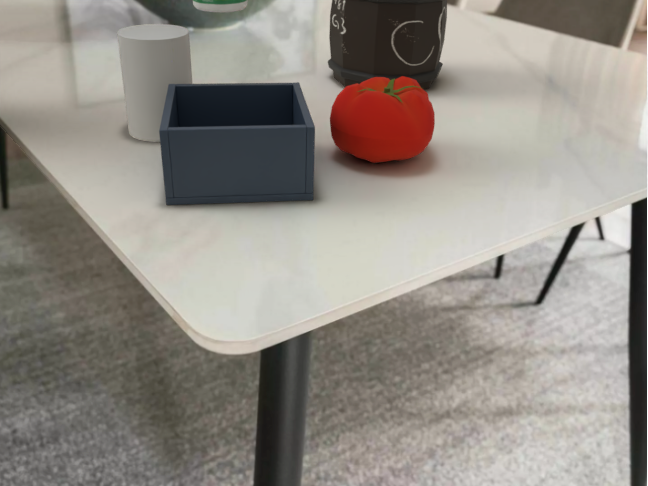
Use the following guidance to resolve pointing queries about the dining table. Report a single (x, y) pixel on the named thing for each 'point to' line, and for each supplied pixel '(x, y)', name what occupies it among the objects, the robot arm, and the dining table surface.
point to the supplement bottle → (220, 5)
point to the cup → (151, 73)
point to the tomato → (382, 119)
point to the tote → (236, 143)
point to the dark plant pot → (387, 39)
